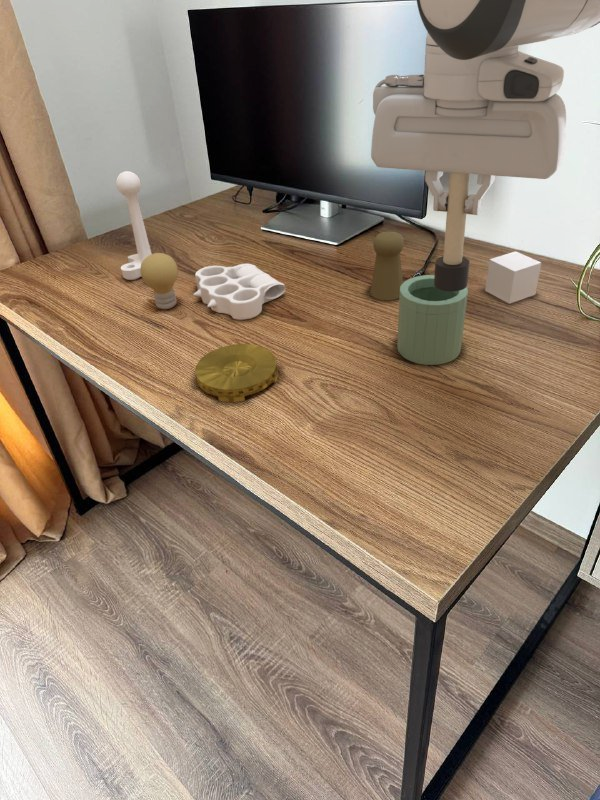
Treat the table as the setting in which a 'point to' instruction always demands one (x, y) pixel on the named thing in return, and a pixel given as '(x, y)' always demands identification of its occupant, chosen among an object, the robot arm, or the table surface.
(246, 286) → the white brass knuckles
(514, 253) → the white cube
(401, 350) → the jar
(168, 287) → the light bulb
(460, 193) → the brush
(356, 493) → the table surface
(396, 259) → the brown pawn
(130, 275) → the joystick
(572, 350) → the table surface
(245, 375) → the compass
